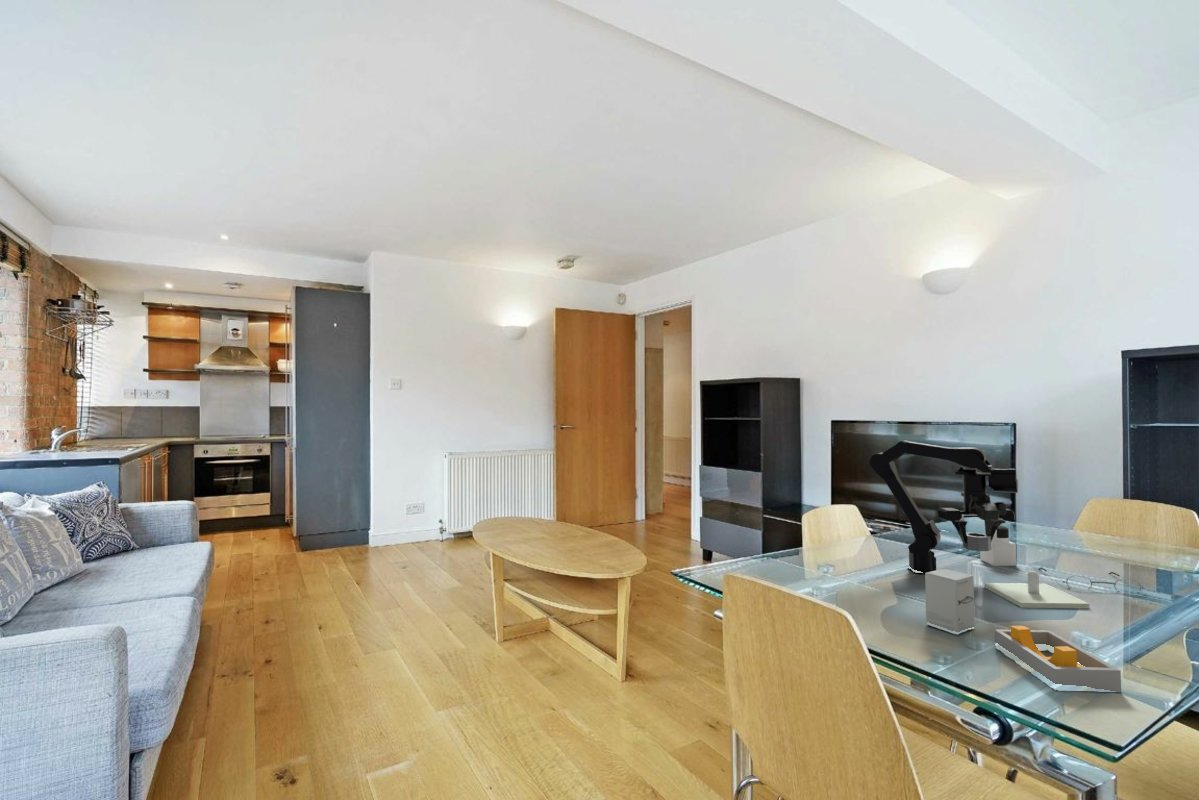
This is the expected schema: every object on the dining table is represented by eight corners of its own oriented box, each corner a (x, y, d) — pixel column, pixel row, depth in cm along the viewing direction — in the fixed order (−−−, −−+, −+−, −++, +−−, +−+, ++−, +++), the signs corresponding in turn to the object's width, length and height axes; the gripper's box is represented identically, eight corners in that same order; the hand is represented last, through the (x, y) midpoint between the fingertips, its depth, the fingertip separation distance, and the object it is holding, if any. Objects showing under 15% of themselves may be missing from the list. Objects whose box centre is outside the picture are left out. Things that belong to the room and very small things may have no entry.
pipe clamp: (1086, 685, 103) (1085, 650, 103) (1064, 686, 103) (1063, 651, 103) (1031, 656, 115) (1030, 625, 115) (1011, 657, 115) (1010, 626, 115)
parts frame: (1055, 691, 101) (1054, 668, 101) (995, 648, 118) (994, 629, 119) (1121, 693, 99) (1120, 670, 100) (1050, 649, 117) (1049, 630, 117)
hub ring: (971, 551, 161) (971, 537, 161) (959, 545, 168) (959, 532, 168) (995, 551, 160) (994, 537, 161) (982, 545, 167) (981, 532, 167)
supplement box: (957, 636, 125) (955, 580, 125) (925, 625, 131) (923, 571, 132) (976, 629, 128) (974, 575, 128) (943, 619, 135) (942, 567, 135)
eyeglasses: (1064, 589, 155) (1063, 575, 155) (1037, 572, 173) (1036, 559, 173) (1146, 595, 149) (1145, 580, 149) (1109, 577, 167) (1109, 563, 167)
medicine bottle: (1003, 560, 183) (1001, 523, 184) (1017, 566, 176) (1015, 528, 176) (980, 560, 184) (978, 523, 184) (993, 566, 177) (991, 528, 177)
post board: (1021, 607, 141) (1020, 579, 141) (984, 587, 157) (983, 562, 157) (1089, 608, 140) (1088, 580, 140) (1045, 587, 156) (1044, 562, 156)
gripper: (956, 494, 157) (958, 550, 157) (1026, 494, 155) (1028, 550, 155) (936, 489, 168) (938, 540, 168) (1002, 488, 166) (1003, 540, 166)
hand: (976, 543), depth 164 cm, fingers closed on hub ring, 6 cm apart
